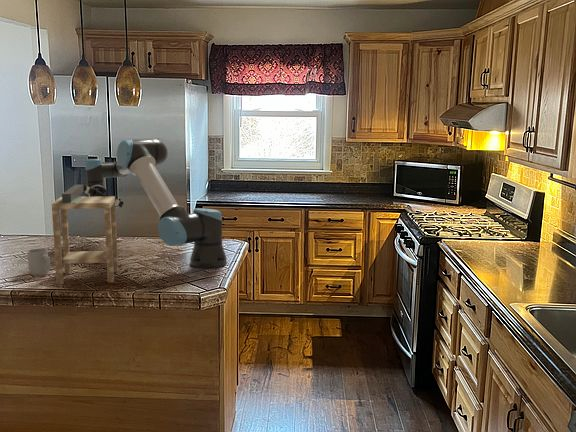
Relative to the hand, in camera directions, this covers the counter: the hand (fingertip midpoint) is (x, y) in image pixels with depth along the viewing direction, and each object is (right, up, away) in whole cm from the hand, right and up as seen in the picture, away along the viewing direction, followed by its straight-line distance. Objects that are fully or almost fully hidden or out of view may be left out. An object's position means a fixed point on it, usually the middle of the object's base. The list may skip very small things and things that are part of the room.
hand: (103, 197), depth 247 cm
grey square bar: (-3, -1, -27) cm, 27 cm away
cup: (-17, -31, -21) cm, 41 cm away
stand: (+3, -32, -26) cm, 41 cm away
